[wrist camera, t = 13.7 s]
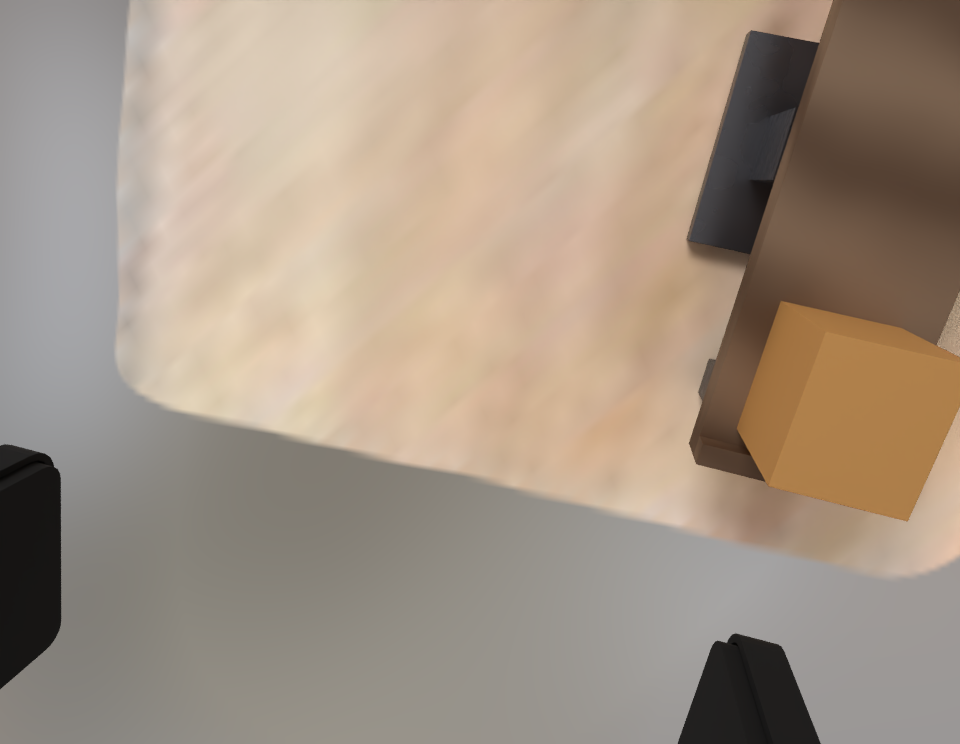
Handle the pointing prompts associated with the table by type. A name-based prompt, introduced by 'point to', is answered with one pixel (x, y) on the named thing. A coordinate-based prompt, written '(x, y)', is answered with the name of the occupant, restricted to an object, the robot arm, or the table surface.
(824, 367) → the block
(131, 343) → the table surface
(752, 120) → the stand
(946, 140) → the beam
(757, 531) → the table surface
